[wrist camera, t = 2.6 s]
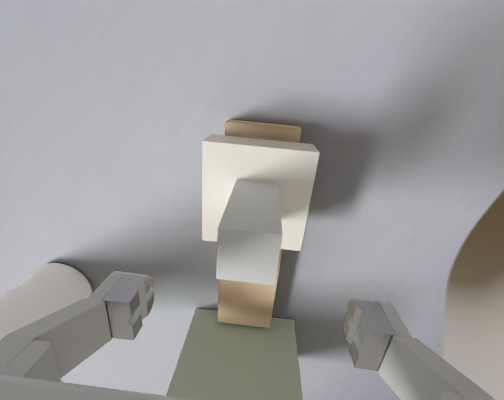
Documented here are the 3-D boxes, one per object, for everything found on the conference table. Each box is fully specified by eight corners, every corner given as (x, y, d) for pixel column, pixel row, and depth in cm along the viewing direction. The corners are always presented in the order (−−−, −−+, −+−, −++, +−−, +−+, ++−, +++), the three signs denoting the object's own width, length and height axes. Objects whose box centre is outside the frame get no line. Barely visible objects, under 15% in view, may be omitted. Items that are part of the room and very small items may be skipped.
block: (229, 119, 21) (225, 121, 20) (299, 126, 21) (301, 129, 19) (220, 308, 30) (217, 321, 28) (269, 313, 30) (269, 328, 28)
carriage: (211, 134, 20) (161, 170, 11) (312, 144, 20) (350, 189, 10) (210, 222, 23) (170, 309, 14) (296, 231, 23) (314, 326, 14)
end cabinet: (196, 308, 31) (154, 429, 20) (297, 320, 30) (312, 450, 19) (196, 346, 33) (160, 471, 22) (288, 358, 33) (298, 490, 22)
